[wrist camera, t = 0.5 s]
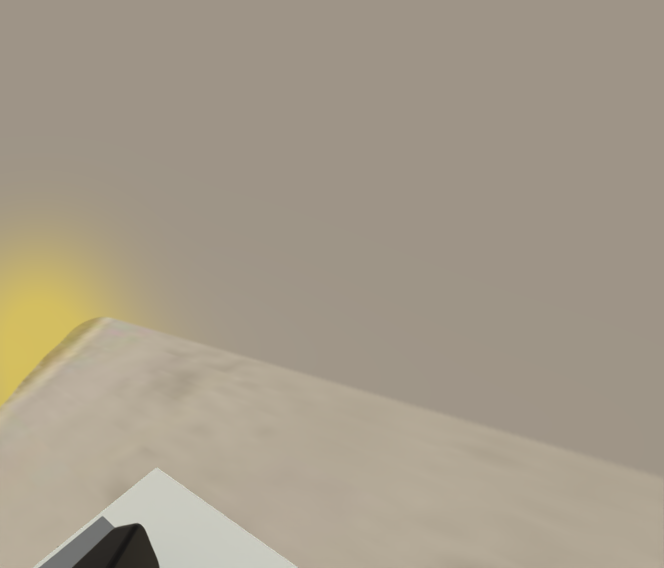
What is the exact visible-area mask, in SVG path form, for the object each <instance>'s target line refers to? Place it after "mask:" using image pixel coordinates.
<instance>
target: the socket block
mask: <svg viewBox="0 0 664 568" xmlns="http://www.w3.org/2000/svg"><path fill="white" fill-rule="evenodd" d="M133 523H139V524H141V525H142V526H143V527H144V528H145V530H146V533H147V535H148V537H149V540H150V542H151V545H152V547H153V550H154V552H155V554H156V557H157V559H158V562H159V567H160V568H298V567H296V566H295V565H294V564H292V563H291V562H289V561H288V560H287V559H285V558H284V557H282V556H281V555H280V554H278V553H277V552H275V551H274V550H273V549H271V548H270V547H268V546H267V545H266V544H264V543H263V542H261V541H260V540H258V539H257V538H256V537H254V536H253V535H251V534H250V533H249V532H247V531H246V530H244V529H243V528H242V527H240V526H239V525H237V524H236V523H235V522H233V521H232V520H230V519H229V518H228V517H226V516H225V515H223V514H222V513H220V512H219V511H218V510H216V509H215V508H213V507H212V506H211V505H209V504H208V503H206V502H205V501H204V500H202V499H201V498H199V497H198V496H197V495H195V494H194V493H192V492H191V491H190V490H188V489H187V488H185V487H184V486H183V485H181V484H180V483H178V482H177V481H175V480H174V479H173V478H171V477H170V476H168V475H167V474H166V473H164V472H163V471H161V470H160V469H159V468H157V467H156V468H155V469H154V470H152V471H151V472H150V473H149V474H147V475H146V476H145V477H144V478H143V479H141V480H140V481H139V482H138V483H136V484H135V485H134V486H133V487H131V488H130V489H129V490H128V491H127V492H125V493H124V494H123V495H122V496H120V497H119V498H118V499H117V500H115V501H114V502H113V503H112V504H110V505H109V506H108V507H107V508H106V509H104V510H103V511H102V512H101V513H99V514H98V515H97V516H96V517H94V518H93V519H92V520H91V521H90V522H88V523H87V524H86V525H85V526H83V527H82V528H81V529H80V530H78V531H77V532H76V533H75V534H73V535H72V536H71V537H70V538H69V539H67V540H66V541H65V542H64V543H62V544H61V545H60V546H59V547H57V548H56V549H55V550H54V551H52V552H51V553H50V554H49V555H48V556H46V557H45V558H44V559H43V560H41V561H40V562H39V563H38V564H36V565H35V566H34V567H33V568H72V567H73V566H74V565H75V564H76V563H77V562H78V561H79V560H80V559H81V558H82V557H83V556H84V555H86V554H87V553H88V552H89V551H90V550H91V549H92V548H93V547H94V546H95V545H96V544H97V543H98V542H99V541H100V540H101V539H102V538H103V537H105V536H106V535H107V534H108V533H109V532H110V531H111V530H112V529H113V528H115V527H118V526H123V525H128V524H133Z"/></svg>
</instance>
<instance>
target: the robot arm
mask: <svg viewBox="0 0 664 568" xmlns="http://www.w3.org/2000/svg"><path fill="white" fill-rule="evenodd" d="M72 568H160V567H159V562H158V559H157V557H156V554H155V552H154V550H153V547H152V545H151V542H150V540H149V537H148V535H147V533H146V530H145V528H144V527H143V526H142V525H141V524H139V523H133V524H128V525H123V526H118V527H115V528H113V529H112V530H111V531H110V532H109V533H108V534H107V535H106V536H105V537H103V538H102V539H101V540H100V541H99V542H98V543H97V544H96V545H95V546H94V547H93V548H92V549H91V550H90V551H89V552H88V553H87V554H86V555H84V556H83V557H82V558H81V559H80V560H79V561H78V562H77V563H76V564H75V565H74V566H73V567H72Z"/></svg>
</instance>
